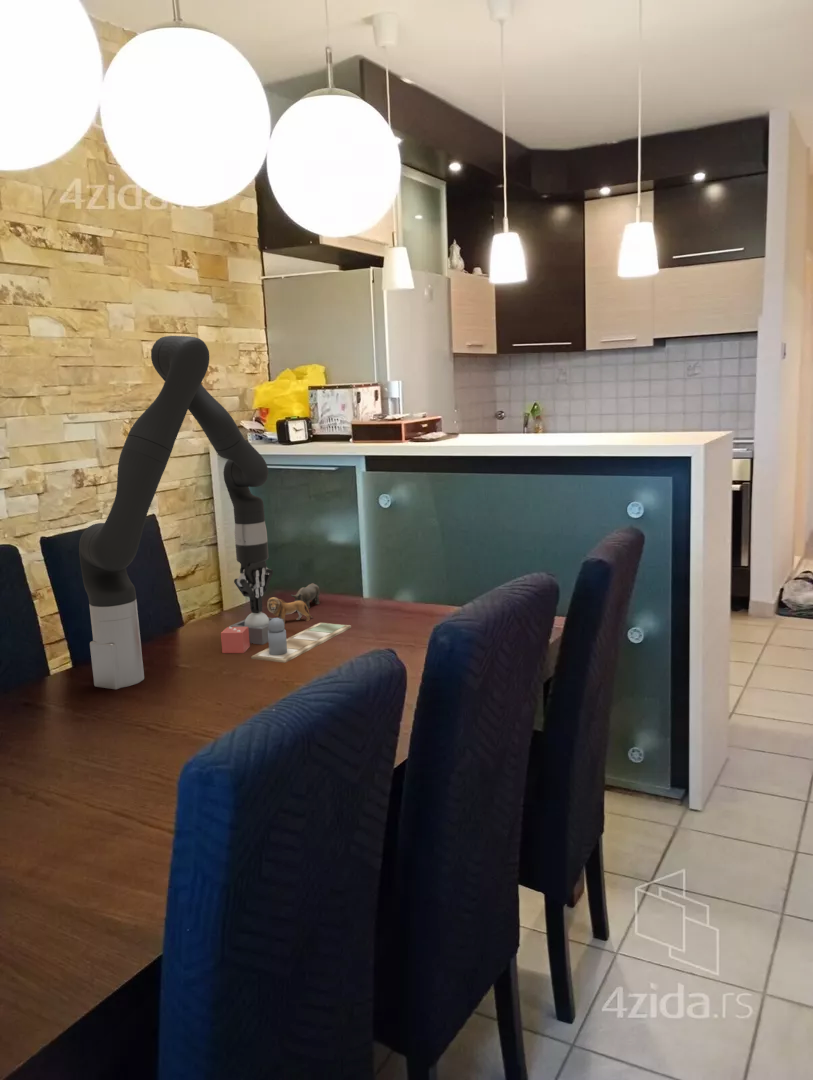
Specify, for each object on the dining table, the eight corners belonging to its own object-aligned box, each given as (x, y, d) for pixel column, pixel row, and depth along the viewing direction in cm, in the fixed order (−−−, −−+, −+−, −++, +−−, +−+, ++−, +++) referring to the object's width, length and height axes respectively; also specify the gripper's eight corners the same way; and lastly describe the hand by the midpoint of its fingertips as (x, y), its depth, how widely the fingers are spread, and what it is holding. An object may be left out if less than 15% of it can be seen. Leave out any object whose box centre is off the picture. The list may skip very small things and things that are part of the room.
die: (243, 654, 197) (242, 631, 196) (222, 654, 197) (220, 631, 196) (250, 647, 202) (248, 625, 201) (229, 647, 202) (227, 625, 201)
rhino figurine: (286, 614, 231) (284, 592, 230) (311, 601, 243) (309, 580, 242) (299, 615, 229) (298, 593, 228) (324, 602, 242) (322, 581, 241)
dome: (261, 640, 205) (259, 616, 204) (240, 638, 207) (238, 614, 206) (275, 633, 210) (273, 609, 209) (255, 631, 213) (253, 608, 212)
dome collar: (262, 645, 203) (261, 629, 202) (231, 642, 207) (229, 625, 206) (285, 634, 211) (283, 619, 210) (254, 631, 215) (252, 616, 214)
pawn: (280, 656, 191) (278, 620, 190) (265, 654, 193) (263, 619, 191) (290, 650, 195) (288, 616, 193) (275, 649, 196) (273, 615, 195)
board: (285, 663, 188) (285, 659, 188) (251, 659, 192) (251, 655, 192) (351, 628, 214) (351, 625, 214) (320, 625, 218) (319, 622, 218)
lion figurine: (271, 628, 218) (269, 600, 216) (266, 624, 221) (263, 596, 220) (315, 620, 223) (314, 592, 222) (309, 617, 227) (307, 589, 226)
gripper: (247, 546, 197) (253, 620, 200) (280, 536, 209) (285, 606, 212) (221, 545, 200) (227, 618, 204) (254, 535, 212) (260, 604, 215)
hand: (256, 612), depth 208 cm, fingers closed
